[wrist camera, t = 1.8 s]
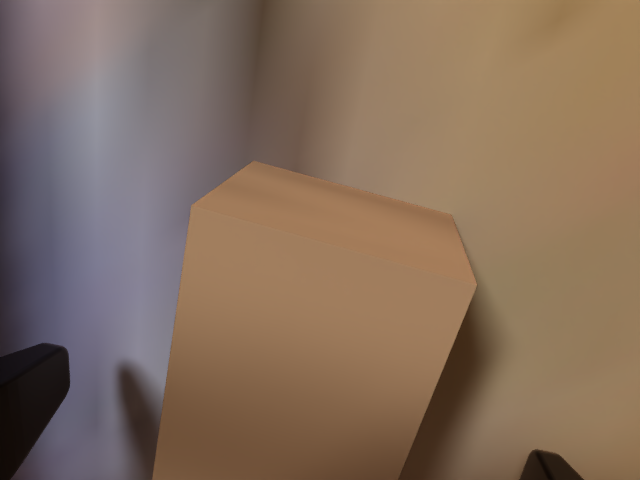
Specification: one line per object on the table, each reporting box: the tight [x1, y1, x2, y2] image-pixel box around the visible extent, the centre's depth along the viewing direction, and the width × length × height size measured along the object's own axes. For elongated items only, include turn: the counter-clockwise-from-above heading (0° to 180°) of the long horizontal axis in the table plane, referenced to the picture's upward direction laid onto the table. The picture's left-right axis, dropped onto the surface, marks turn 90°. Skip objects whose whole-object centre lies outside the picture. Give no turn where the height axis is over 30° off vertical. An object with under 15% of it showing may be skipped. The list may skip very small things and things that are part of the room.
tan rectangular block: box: [152, 161, 477, 480], centre depth 9 cm, size 8×4×3 cm, turn 166°
